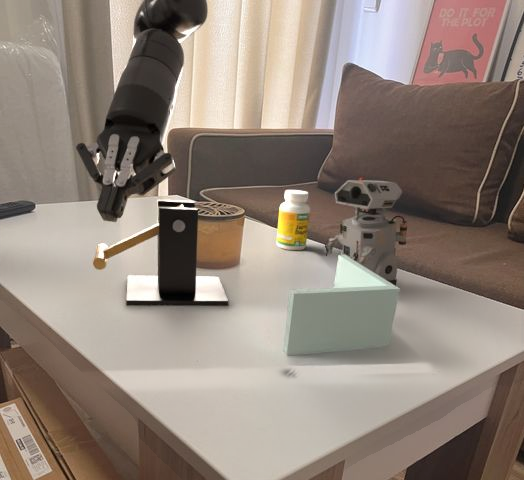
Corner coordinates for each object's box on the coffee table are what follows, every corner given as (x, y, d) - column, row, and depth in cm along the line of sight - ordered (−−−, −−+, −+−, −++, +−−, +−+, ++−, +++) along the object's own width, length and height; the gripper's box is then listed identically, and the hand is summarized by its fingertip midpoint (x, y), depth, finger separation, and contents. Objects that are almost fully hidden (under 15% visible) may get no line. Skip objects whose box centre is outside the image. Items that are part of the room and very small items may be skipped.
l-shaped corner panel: (335, 311, 67) (344, 254, 64) (386, 353, 57) (400, 288, 54) (247, 316, 63) (252, 256, 60) (285, 363, 53) (294, 293, 50)
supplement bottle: (287, 240, 97) (292, 187, 93) (311, 247, 95) (318, 193, 90) (269, 245, 93) (275, 190, 89) (294, 252, 91) (301, 195, 86)
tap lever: (99, 275, 60) (88, 257, 59) (102, 259, 65) (92, 242, 64) (194, 230, 60) (185, 211, 59) (190, 218, 65) (181, 200, 64)
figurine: (306, 277, 79) (319, 173, 72) (362, 269, 85) (380, 173, 78) (345, 297, 72) (364, 185, 66) (403, 288, 78) (426, 184, 72)
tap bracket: (126, 312, 61) (123, 210, 56) (127, 286, 69) (125, 194, 64) (227, 312, 64) (234, 215, 59) (218, 287, 72) (222, 199, 67)
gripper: (84, 76, 66) (41, 192, 60) (186, 86, 64) (152, 206, 59) (104, 121, 73) (68, 228, 67) (196, 131, 71) (167, 241, 66)
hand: (107, 217), depth 63 cm, fingers closed
